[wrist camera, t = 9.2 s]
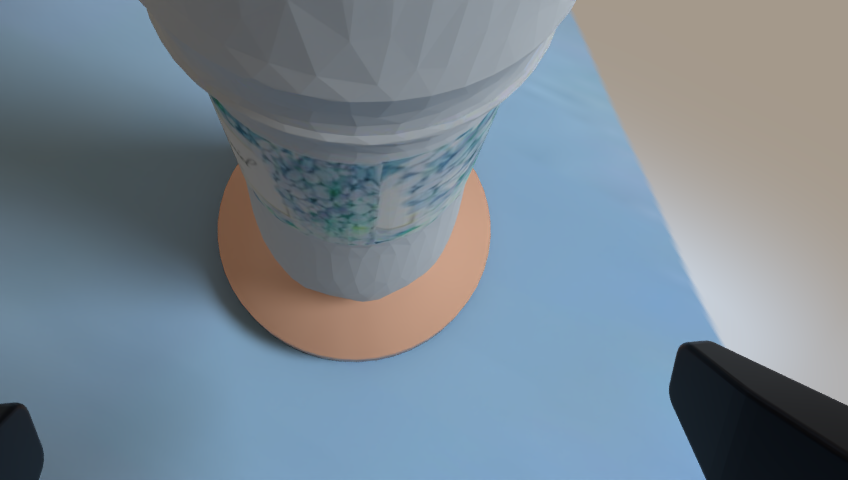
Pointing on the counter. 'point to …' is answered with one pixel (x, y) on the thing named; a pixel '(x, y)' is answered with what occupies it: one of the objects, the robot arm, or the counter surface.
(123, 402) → the counter surface
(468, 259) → the peach round piece
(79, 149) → the counter surface
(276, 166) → the bottle
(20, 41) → the counter surface
